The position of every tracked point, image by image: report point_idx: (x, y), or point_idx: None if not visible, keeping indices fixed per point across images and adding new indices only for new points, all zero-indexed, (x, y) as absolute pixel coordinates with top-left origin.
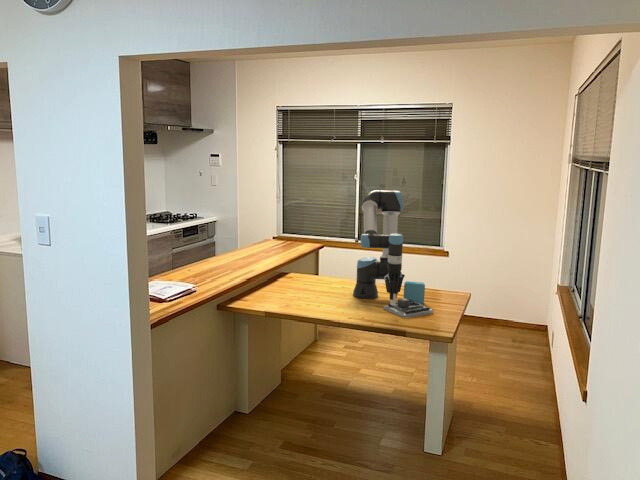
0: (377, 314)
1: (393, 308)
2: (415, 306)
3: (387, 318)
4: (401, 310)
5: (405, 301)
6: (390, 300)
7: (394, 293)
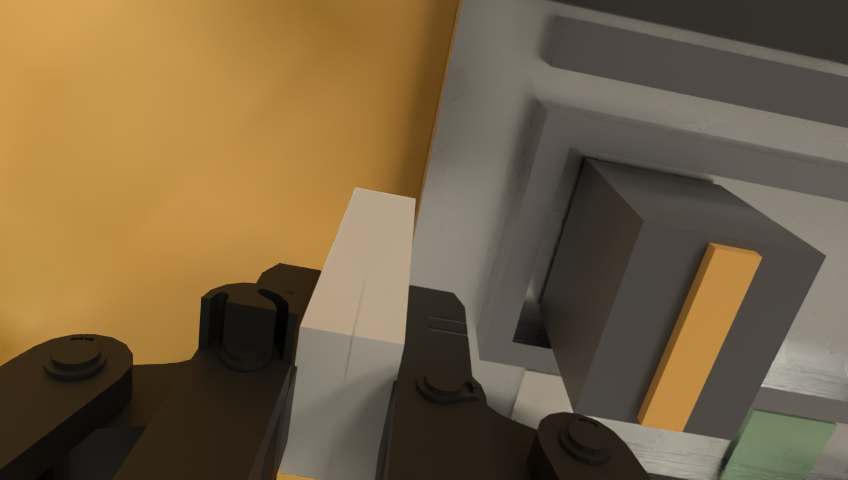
0: (150, 40)
1: (494, 134)
2: (768, 408)
3: (166, 278)
4: (480, 320)
5: (621, 413)
6: (340, 225)
7: (374, 431)
